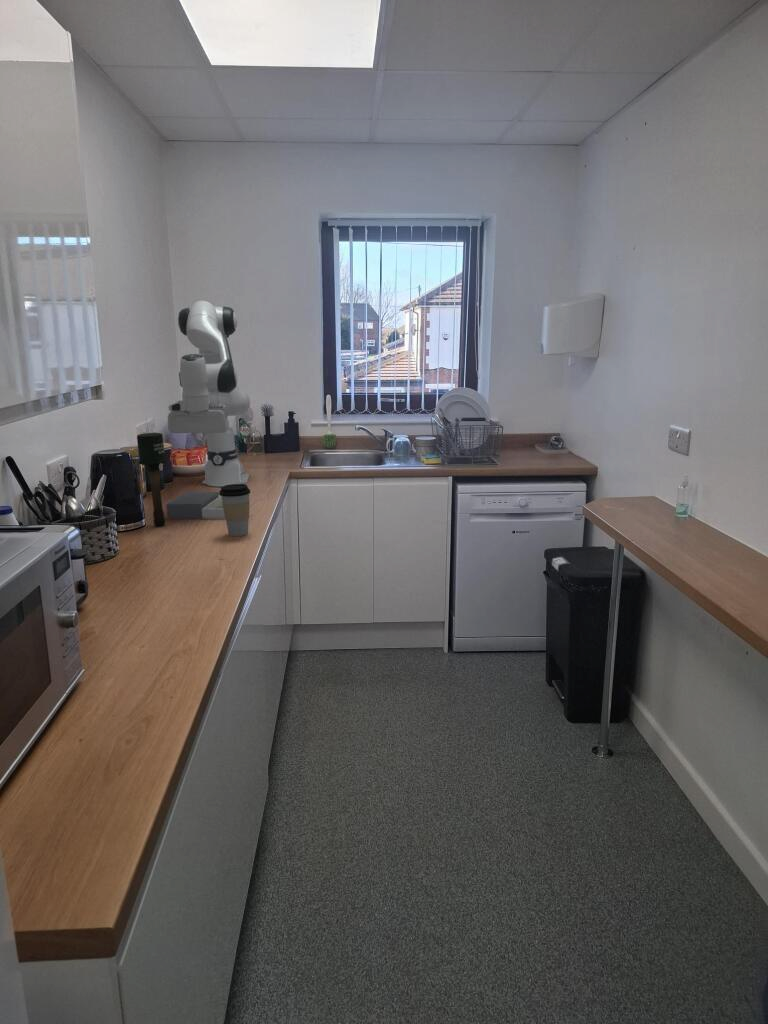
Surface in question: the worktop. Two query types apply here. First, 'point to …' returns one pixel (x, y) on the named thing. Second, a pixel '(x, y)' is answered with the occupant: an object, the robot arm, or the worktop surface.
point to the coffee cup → (236, 508)
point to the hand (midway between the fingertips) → (200, 446)
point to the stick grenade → (153, 468)
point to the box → (213, 510)
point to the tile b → (219, 506)
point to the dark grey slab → (190, 504)
